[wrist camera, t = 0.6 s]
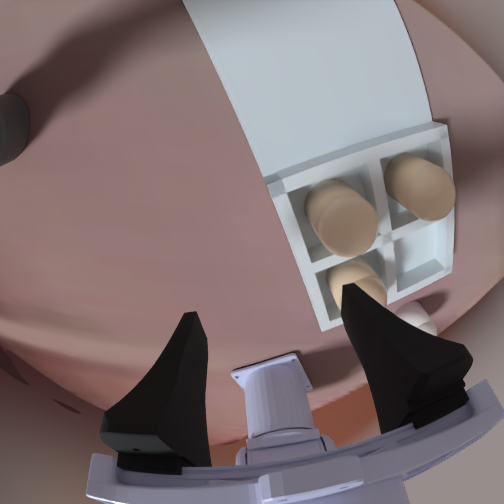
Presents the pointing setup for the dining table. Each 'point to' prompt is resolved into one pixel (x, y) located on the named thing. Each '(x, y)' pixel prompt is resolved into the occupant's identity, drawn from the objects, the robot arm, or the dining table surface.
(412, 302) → the white egg
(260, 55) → the egg carton
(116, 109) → the dining table surface
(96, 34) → the dining table surface
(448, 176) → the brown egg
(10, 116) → the candle holder
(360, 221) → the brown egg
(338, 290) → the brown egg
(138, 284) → the dining table surface
